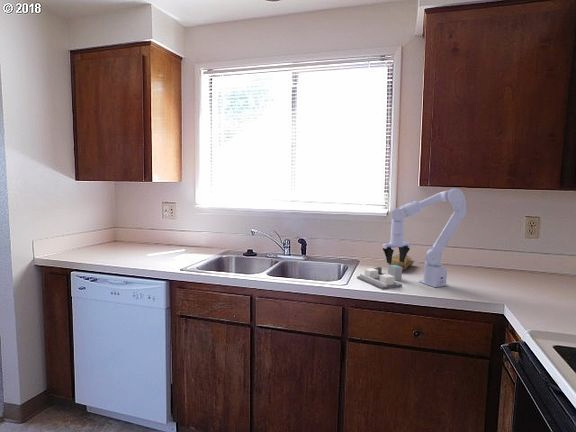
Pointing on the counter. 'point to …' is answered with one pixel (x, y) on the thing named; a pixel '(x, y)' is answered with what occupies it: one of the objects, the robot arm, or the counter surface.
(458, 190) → the robot arm
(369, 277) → the rail board
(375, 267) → the knob
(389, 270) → the module
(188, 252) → the counter surface
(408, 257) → the sponge
